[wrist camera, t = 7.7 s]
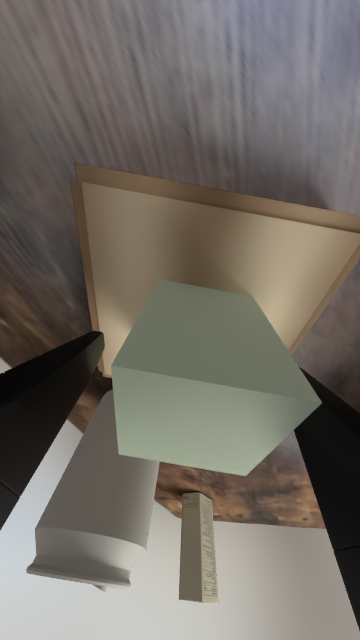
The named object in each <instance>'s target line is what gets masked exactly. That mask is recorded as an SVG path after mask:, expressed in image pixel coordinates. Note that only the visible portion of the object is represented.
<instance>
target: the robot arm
mask: <svg viewBox="0 0 360 640" xmlns="http://www.w3.org/2000/svg"><path fill="white" fill-rule="evenodd" d="M104 348H105V341H104V333H103V332H101V331H92V332H89V333H87V334H85V335H83V336H81V337H79V338H76V339H74V340H72V341H70V342H68V343H66V344H64V345H61V346H59V347H57V348H55V349H53V350H51V351H48V352H46V353H44V354H42V355H40V356H38V357H36V358H33V359H31V360H29V361H27V362H25V363H23V364H20V365H18V366H16V367H14V368H12V369H10V370H8V371H5V373H1V374H0V530H1V528H2V527H3V525H4V523H5V522H6V520H7V518H8V517H9V515H10V513H11V511H12V510H13V508H14V506H15V505H16V503H17V502H18V500H19V497H20V496H21V495H22V493H23V491H24V489H25V488H26V486H27V484H28V483H29V481H30V479H31V478H32V476H33V474H34V473H35V471H36V469H37V468H38V466H39V464H40V463H41V461H42V459H43V458H44V456H45V454H46V453H47V451H48V449H49V448H50V446H51V444H52V443H53V441H54V439H55V438H56V436H57V434H58V433H59V431H60V429H61V428H62V426H63V424H64V423H65V421H66V419H67V418H68V416H69V414H70V413H71V411H72V409H73V408H74V406H75V404H76V402H77V401H78V399H79V397H80V396H81V394H82V392H83V391H84V389H85V387H86V386H87V384H88V382H89V381H90V379H91V377H92V375H93V373H94V371H95V368H96V366H97V364H98V362H99V360H100V357H101V355H102V353H103V351H104ZM299 368H300V367H299ZM300 370H301V371H302V373H303V374H304V376H305V377H306V379H307V380H308V382H309V383H310V385H311V387H312V388H313V390H314V391H315V393H316V394H317V396H318V397H319V399H320V400H321V402H322V403H321V404H320V405H319V406H318V407H317V408H316V409H315V410H314V411H313V412H312V413H311V414H310V415H309V416H308V417H307V418H306V419H305V420H304V421H303V422H302V423H300V424H299V425H298V426H297V427H296V428H295V429H294V432H295V435H296V438H297V441H298V444H299V447H300V450H301V453H302V456H303V459H304V463H305V466H306V469H307V472H308V475H309V478H310V481H311V484H312V487H313V490H314V493H315V496H316V499H317V502H318V505H319V508H320V511H321V514H322V517H323V520H324V523H325V526H326V529H327V532H328V535H329V538H330V541H331V544H332V548H333V549H334V554H335V557H336V560H337V563H338V566H339V569H340V572H341V575H342V578H343V581H344V585H345V588H346V591H347V593H348V597H349V600H350V603H351V606H352V609H353V612H354V615H355V618H356V621H357V624H358V627H359V630H360V413H359V412H357V411H356V410H355V409H353V408H352V407H351V406H350V405H348V404H347V403H346V402H344V401H343V400H342V399H340V398H339V397H338V396H337V395H335V394H334V393H333V392H331V391H330V390H329V389H328V388H326V387H325V386H324V385H322V384H321V383H320V382H319V381H317V380H316V379H315V378H313V377H312V376H311V375H309V374H308V373H307V372H306V371H304V370H303V369H302V368H300Z"/></svg>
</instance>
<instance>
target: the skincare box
mask: <svg viewBox="0 0 360 640" xmlns="http://www.w3.org/2000/svg"><path fill="white" fill-rule="evenodd" d="M179 583H180V584H179V600H187V601H193V602H199V603H215V604H218V589H217V574H216V558H215V542H214V528H213V512H212V500H210V499H209V498H208V497H206V496H205V495H203V494H202V493H200V492H192V493H184V494H183V498H182V528H181V557H180V582H179Z"/></svg>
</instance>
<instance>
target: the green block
mask: <svg viewBox="0 0 360 640" xmlns="http://www.w3.org/2000/svg"><path fill="white" fill-rule="evenodd" d="M111 371H112V383H113V395H114V406H115V418H116V430H117V441H118V453H119V454H120V455H125V456H131V457H137V458H143V459H149V460H155V461H160V462H166V463H172V464H178V465H184V466H190V467H195V468H201V469H207V470H213V471H219V472H225V473H230V474H236V475H242V476H246V475H247V474H248V473H249V472H250V471H251V470H252V469H253V468H254V467H255V466H256V465H257V464H259V463H260V462H261V461H262V460H263V459H264V458H265V457H266V456H267V455H268V454H269V453H270V452H271V451H272V450H273V449H274V448H275V447H276V446H277V445H278V444H280V443H281V442H282V441H283V440H284V439H285V438H286V437H287V436H288V435H289V434H290V433H291V432H292V431H293V430H294V429H295V428H296V427H297V426H298V425H299V424H300V423H302V422H303V421H304V420H305V419H306V418H307V417H308V416H309V415H310V414H311V413H312V412H313V411H314V410H315V409H316V408H317V407H318V406H319V405H320V404H321V403H322V402H321V400H320V399H319V397H318V396H317V394H316V393H315V391H314V390H313V388H312V387H311V385H310V383H309V382H308V380H307V379H306V377H305V376H304V374H303V373H302V371H301V370H300V368H299V366H298V365H297V363H296V362H295V360H294V359H293V357H292V356H291V354H290V353H289V351H288V350H287V348H286V346H285V345H284V343H283V342H282V340H281V339H280V337H279V336H278V334H277V333H276V331H275V329H274V328H273V326H272V325H271V323H270V322H269V320H268V319H267V317H266V316H265V314H264V312H263V311H262V309H261V308H260V306H259V305H258V303H257V302H256V300H255V299H254V297H253V296H248V295H243V294H238V293H232V292H227V291H221V290H216V289H210V288H205V287H199V286H194V285H188V284H183V283H178V282H172V281H167V280H161V279H159V281H158V283H157V285H156V286H155V288H154V290H153V292H152V293H151V295H150V297H149V299H148V301H147V302H146V304H145V306H144V308H143V309H142V311H141V313H140V315H139V317H138V318H137V320H136V322H135V324H134V325H133V327H132V329H131V331H130V333H129V334H128V336H127V338H126V340H125V341H124V343H123V345H122V347H121V349H120V350H119V352H118V354H117V356H116V357H115V359H114V361H113V363H112V365H111Z"/></svg>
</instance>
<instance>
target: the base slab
mask: <svg viewBox="0 0 360 640" xmlns="http://www.w3.org/2000/svg"><path fill="white" fill-rule="evenodd" d="M75 168H76V176H77V181H72V180H70V182H71V189H72V195H73V202H74V209H75V216H76V222H77V229H78V236H79V242H80V249H81V256H82V263H83V269H84V276H85V283H86V290H87V296H88V303H89V310H90V316H91V323H92V330H93V331H101V332H103V333H104V341H105V348H104V351H103V353H102V355H101V357H100V360H99V362H98V370H99V371H102V373H103V377H108V378H112V371H111V365H112V363H113V361H114V359H115V357H116V356H117V354H118V352H119V350H120V349H121V347H122V345H123V343H124V341H125V340H126V338H127V336H128V334H129V333H130V331H131V329H132V327H133V325H134V324H135V322H136V320H137V318H138V317H139V315H140V313H141V311H142V309H143V308H144V306H145V304H146V302H147V301H148V299H149V297H150V295H151V293H152V292H153V290H154V288H155V286H156V285H157V283H158V281H159V279H161V280H167V281H172V282H178V283H183V284H188V285H194V286H199V287H205V288H210V289H216V290H221V291H227V292H232V293H238V294H243V295H248V296H253V297H254V299H255V300H256V302H257V303H258V305H259V306H260V308H261V309H262V311H263V312H264V314H265V316H266V317H267V319H268V320H269V322H270V323H271V325H272V326H273V328H274V329H275V331H276V333H277V334H278V336H279V337H280V339H281V340H282V342H283V343H284V345H285V346H286V348H287V350H288V351H289V353H290V354H291V356H292V355H293V353H294V352H295V351H296V349H297V348H298V346H299V345H300V343H301V342H302V341H303V339H304V338H305V336H306V335H307V333H308V332H309V331H310V329H311V328H312V326H313V325H314V323H315V322H316V321H317V319H318V318H319V316H320V315H321V313H322V312H323V311H324V309H325V308H326V306H327V305H328V303H329V302H330V301H331V299H332V298H333V296H334V295H335V293H336V292H337V291H338V289H339V288H340V286H341V285H342V283H343V282H344V281H345V279H346V278H347V276H348V275H349V273H350V272H351V271H352V269H353V268H354V266H355V265H356V263H357V262H358V261H359V259H360V216H358V215H352V214H347V213H342V212H336V211H331V210H325V209H320V208H315V207H309V206H304V205H299V204H293V203H288V202H283V201H277V200H272V199H267V198H261V197H256V196H251V195H245V194H240V193H234V192H229V191H224V190H218V189H213V188H208V187H202V186H197V185H192V184H186V183H181V182H176V181H170V180H165V179H160V178H154V177H149V176H143V175H138V174H133V173H127V172H122V171H117V170H111V169H106V168H101V167H95V166H90V165H85V164H79V163H75Z"/></svg>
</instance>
